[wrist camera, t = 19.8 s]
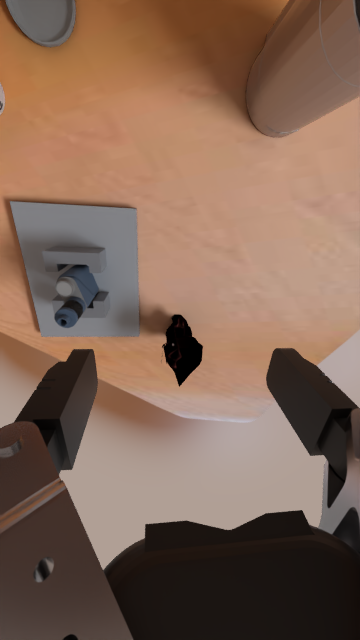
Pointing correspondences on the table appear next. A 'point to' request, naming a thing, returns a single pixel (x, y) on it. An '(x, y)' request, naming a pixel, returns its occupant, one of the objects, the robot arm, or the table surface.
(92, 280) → the vaping device
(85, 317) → the dock
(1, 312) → the table surface
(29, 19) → the pocket watch
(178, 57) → the table surface
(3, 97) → the cup
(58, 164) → the table surface
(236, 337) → the table surface
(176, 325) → the cat figurine
